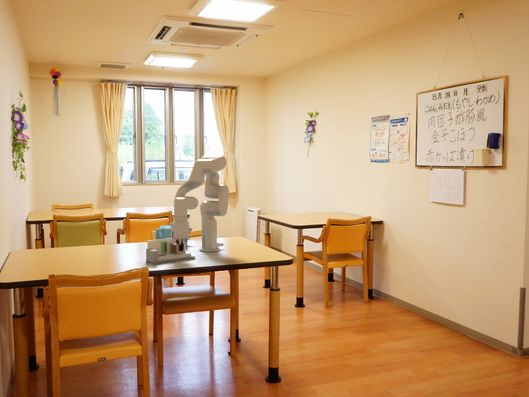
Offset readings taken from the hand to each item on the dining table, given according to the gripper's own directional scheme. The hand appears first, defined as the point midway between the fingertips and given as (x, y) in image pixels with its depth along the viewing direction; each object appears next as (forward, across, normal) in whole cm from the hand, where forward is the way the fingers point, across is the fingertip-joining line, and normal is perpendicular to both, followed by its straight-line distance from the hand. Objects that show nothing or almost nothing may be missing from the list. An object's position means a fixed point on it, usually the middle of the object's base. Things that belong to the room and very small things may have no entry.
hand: (181, 250), depth 288 cm
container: (+5, -18, -43) cm, 47 cm away
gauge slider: (+4, +6, -2) cm, 8 cm away
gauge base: (+5, +6, -2) cm, 8 cm away
